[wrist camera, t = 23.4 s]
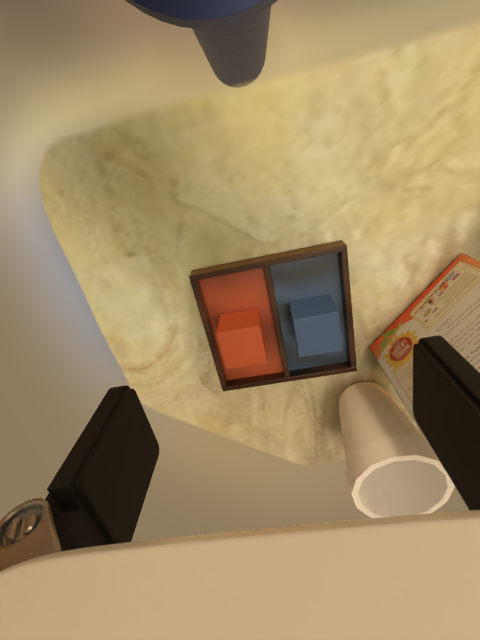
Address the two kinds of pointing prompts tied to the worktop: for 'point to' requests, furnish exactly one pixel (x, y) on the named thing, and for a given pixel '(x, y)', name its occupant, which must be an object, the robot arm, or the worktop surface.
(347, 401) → the foam cup
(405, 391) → the cracker box
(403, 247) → the worktop surface
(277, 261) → the sorting tray
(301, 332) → the slate-blue block
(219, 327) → the terracotta block
